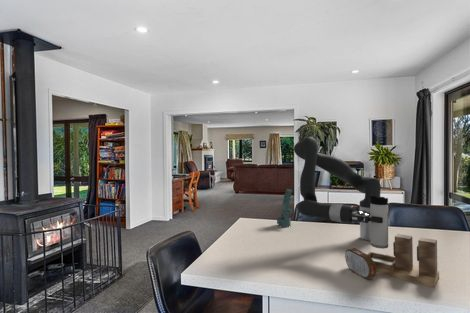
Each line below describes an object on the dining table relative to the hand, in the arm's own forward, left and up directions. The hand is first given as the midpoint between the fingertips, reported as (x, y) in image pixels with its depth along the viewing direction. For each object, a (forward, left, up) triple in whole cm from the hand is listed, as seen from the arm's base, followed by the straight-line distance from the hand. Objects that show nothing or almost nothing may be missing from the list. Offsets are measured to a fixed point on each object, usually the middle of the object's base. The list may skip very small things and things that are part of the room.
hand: (385, 219), depth 109 cm
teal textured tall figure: (+4, -77, -20) cm, 79 cm away
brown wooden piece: (-2, +4, -20) cm, 20 cm away
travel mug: (+1, -2, -11) cm, 11 cm away
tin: (+12, 0, -20) cm, 24 cm away
